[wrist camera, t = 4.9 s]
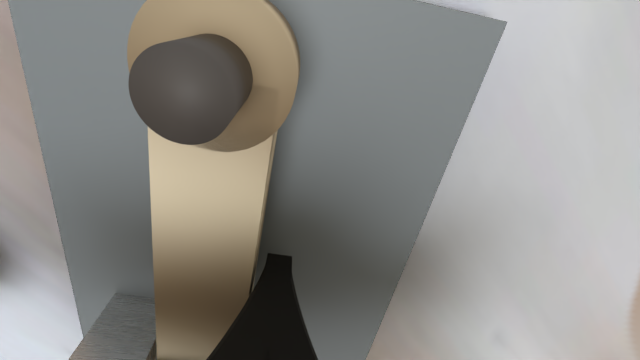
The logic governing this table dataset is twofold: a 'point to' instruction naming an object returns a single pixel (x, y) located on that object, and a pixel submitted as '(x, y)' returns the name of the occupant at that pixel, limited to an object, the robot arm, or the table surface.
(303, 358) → the robot arm
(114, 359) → the steel keeper
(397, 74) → the slate board
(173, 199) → the beech link
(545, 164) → the table surface
